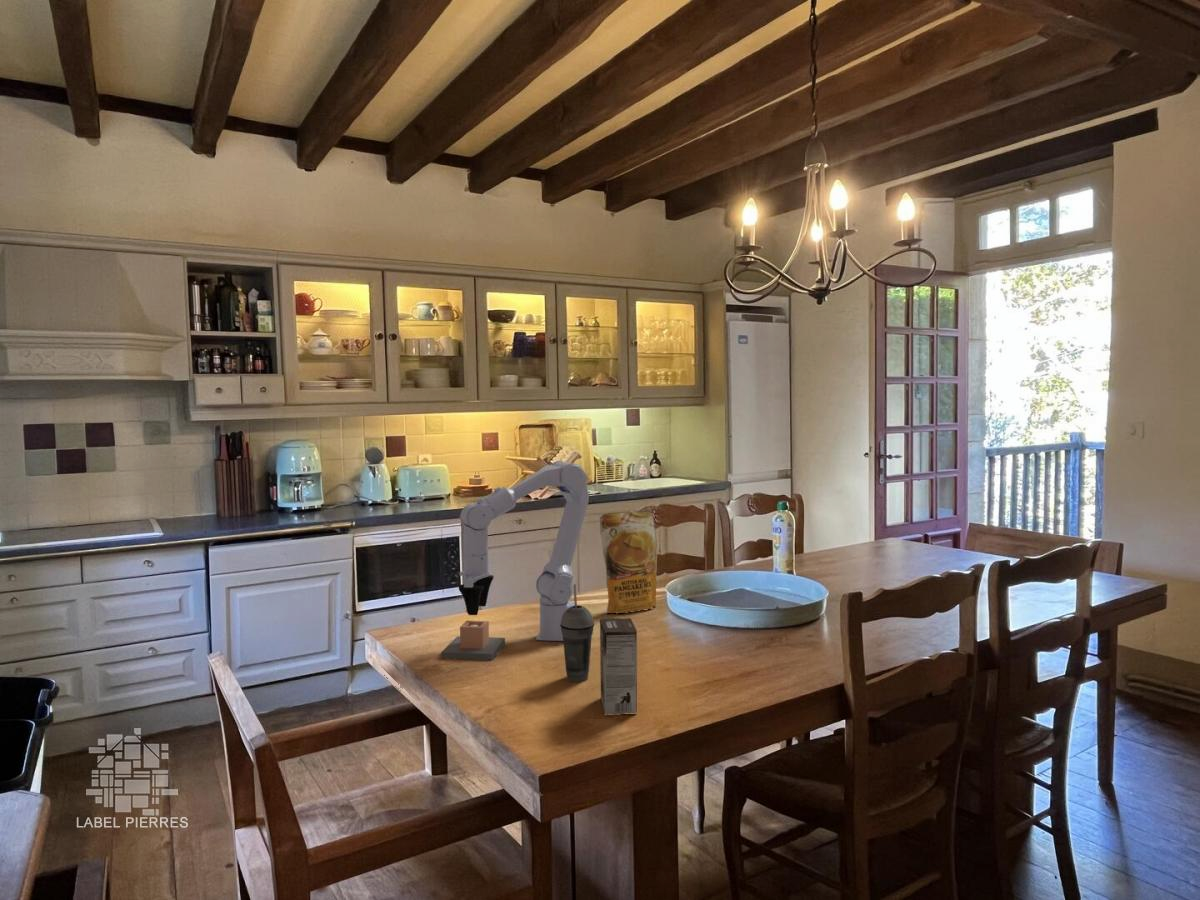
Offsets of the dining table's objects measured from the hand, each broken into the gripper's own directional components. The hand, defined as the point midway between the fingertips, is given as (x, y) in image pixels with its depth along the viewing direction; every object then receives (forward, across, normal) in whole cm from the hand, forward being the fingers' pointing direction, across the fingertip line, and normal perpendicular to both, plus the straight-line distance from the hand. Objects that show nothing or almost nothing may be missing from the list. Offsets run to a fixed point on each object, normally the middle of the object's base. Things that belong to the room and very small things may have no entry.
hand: (477, 610), depth 181 cm
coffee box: (+10, +31, +36) cm, 49 cm away
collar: (+8, +2, 0) cm, 8 cm away
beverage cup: (+10, +17, +26) cm, 33 cm away
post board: (+9, +2, 0) cm, 10 cm away
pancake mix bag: (+10, -38, +34) cm, 52 cm away
